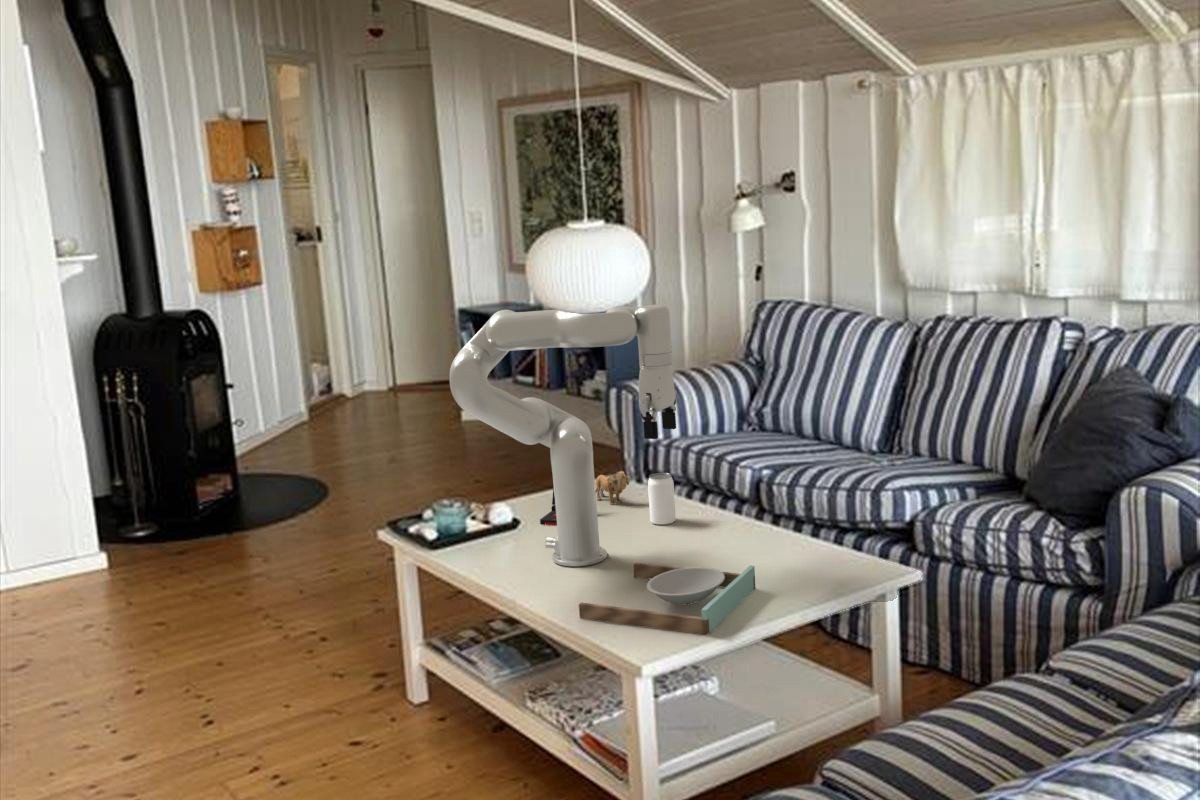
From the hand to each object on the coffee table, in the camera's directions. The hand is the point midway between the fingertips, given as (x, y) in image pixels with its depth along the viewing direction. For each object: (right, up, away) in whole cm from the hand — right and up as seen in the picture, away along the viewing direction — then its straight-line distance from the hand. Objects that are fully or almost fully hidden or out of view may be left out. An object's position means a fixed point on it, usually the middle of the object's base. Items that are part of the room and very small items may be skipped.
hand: (660, 433), depth 277 cm
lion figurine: (-11, -20, +51) cm, 56 cm away
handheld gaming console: (-23, -24, +38) cm, 50 cm away
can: (+2, -23, +29) cm, 37 cm away
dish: (+4, -34, -28) cm, 44 cm away
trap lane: (0, -34, -27) cm, 43 cm away
